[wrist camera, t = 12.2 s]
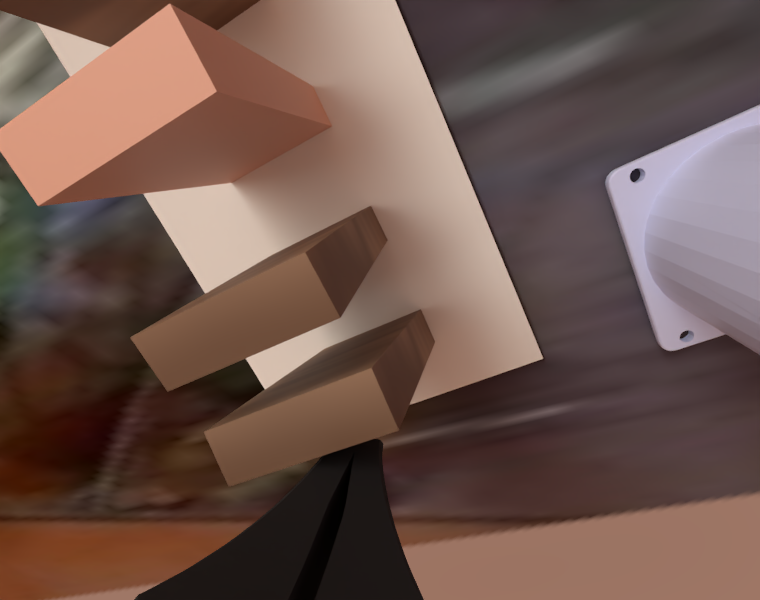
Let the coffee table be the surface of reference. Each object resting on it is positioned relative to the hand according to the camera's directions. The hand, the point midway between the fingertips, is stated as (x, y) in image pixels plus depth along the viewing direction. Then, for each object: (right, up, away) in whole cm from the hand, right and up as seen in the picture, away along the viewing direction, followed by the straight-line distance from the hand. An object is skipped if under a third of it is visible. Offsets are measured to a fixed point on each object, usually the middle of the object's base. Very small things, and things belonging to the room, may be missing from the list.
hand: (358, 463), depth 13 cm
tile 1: (+1, +3, +6) cm, 7 cm away
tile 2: (-2, +7, +5) cm, 9 cm away
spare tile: (-4, +12, +4) cm, 13 cm away
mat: (-3, +11, +5) cm, 12 cm away
